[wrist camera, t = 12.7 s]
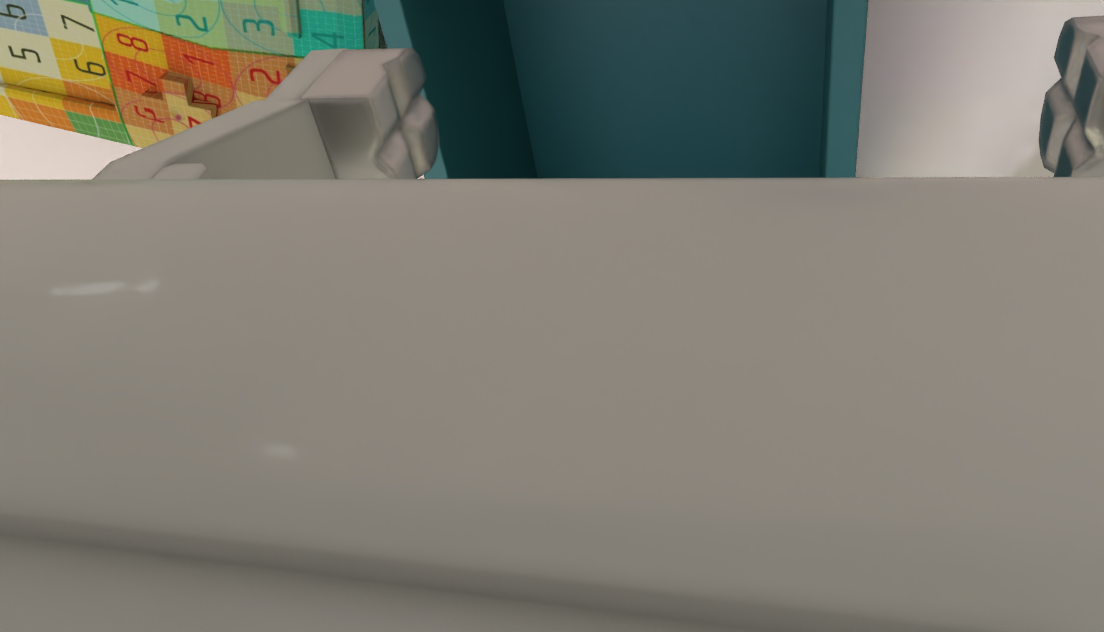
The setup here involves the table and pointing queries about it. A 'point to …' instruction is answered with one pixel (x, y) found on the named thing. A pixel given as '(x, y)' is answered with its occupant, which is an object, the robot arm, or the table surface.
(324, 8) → the puzzle game
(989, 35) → the table surface
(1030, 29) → the table surface
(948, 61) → the table surface
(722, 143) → the cooler
